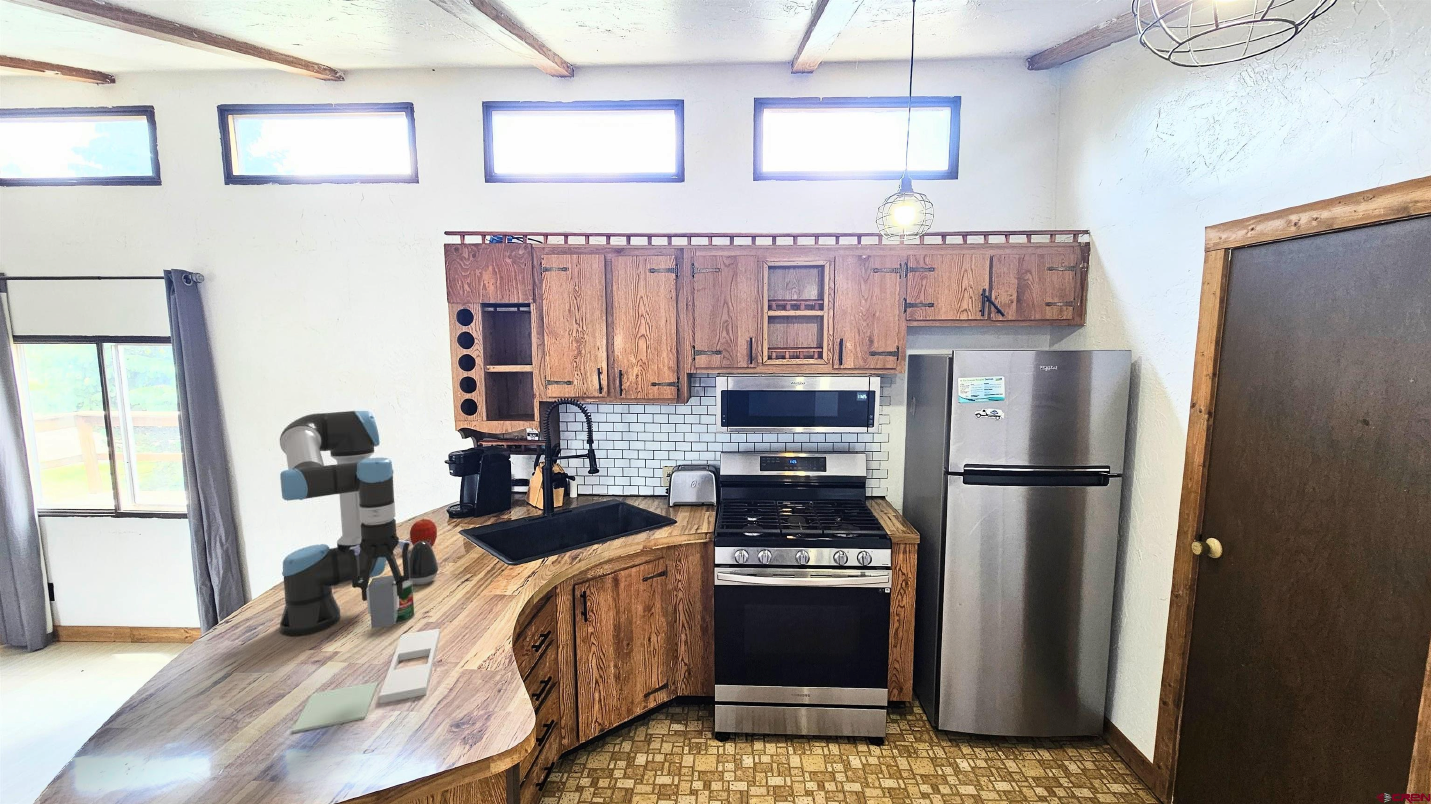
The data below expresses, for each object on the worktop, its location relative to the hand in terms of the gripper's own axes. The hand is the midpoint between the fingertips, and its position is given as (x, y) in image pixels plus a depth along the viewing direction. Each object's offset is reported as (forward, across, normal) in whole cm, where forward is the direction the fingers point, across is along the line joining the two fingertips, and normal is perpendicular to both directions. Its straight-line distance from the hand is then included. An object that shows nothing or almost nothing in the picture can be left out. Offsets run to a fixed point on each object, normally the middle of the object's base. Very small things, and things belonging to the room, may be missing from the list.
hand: (383, 609), depth 141 cm
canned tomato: (+19, -2, +36) cm, 41 cm away
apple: (+19, -1, +98) cm, 100 cm away
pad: (+19, -9, -8) cm, 22 cm away
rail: (+19, +5, +5) cm, 20 cm away
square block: (+3, 0, 0) cm, 3 cm away
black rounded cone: (+19, +2, +63) cm, 66 cm away
